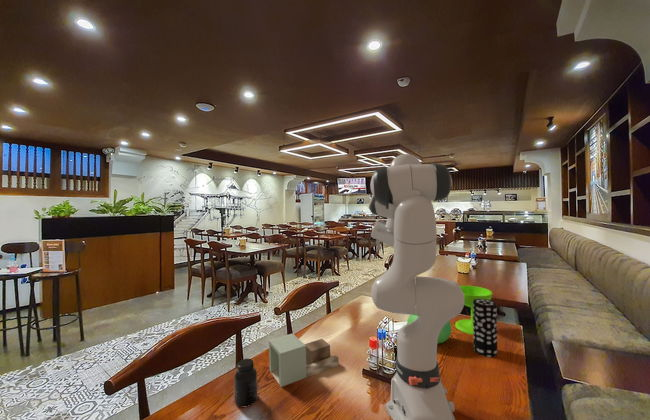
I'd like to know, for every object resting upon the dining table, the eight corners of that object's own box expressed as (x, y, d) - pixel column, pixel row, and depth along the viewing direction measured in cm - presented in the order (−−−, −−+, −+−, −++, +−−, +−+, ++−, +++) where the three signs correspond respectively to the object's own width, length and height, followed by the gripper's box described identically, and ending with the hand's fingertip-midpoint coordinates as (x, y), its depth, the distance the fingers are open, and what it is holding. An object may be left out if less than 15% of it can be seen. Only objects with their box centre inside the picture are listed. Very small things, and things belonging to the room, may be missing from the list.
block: (322, 356, 110) (322, 338, 110) (330, 363, 104) (330, 345, 104) (304, 362, 106) (304, 344, 105) (311, 370, 100) (311, 351, 100)
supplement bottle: (230, 404, 85) (229, 366, 84) (244, 390, 91) (243, 354, 91) (248, 410, 82) (247, 370, 82) (261, 395, 88) (260, 358, 88)
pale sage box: (293, 362, 106) (292, 333, 106) (306, 377, 96) (305, 345, 96) (269, 370, 101) (268, 340, 101) (281, 387, 92) (280, 353, 91)
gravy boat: (408, 348, 115) (407, 313, 115) (406, 330, 131) (405, 299, 131) (455, 353, 111) (454, 316, 110) (447, 333, 127) (446, 302, 127)
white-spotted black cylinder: (470, 345, 116) (470, 298, 116) (492, 347, 115) (492, 299, 114) (477, 356, 108) (476, 305, 108) (501, 358, 106) (500, 306, 106)
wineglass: (455, 318, 143) (455, 284, 143) (491, 324, 136) (491, 287, 135) (454, 331, 129) (453, 293, 129) (494, 338, 122) (493, 298, 121)
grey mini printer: (323, 353, 113) (323, 344, 113) (338, 366, 103) (338, 356, 103) (269, 372, 101) (269, 362, 101) (281, 388, 92) (280, 378, 91)
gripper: (373, 218, 130) (364, 245, 132) (413, 233, 117) (403, 263, 119) (379, 218, 135) (371, 245, 137) (418, 233, 122) (409, 262, 124)
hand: (386, 253), depth 128 cm, fingers open, 8 cm apart
